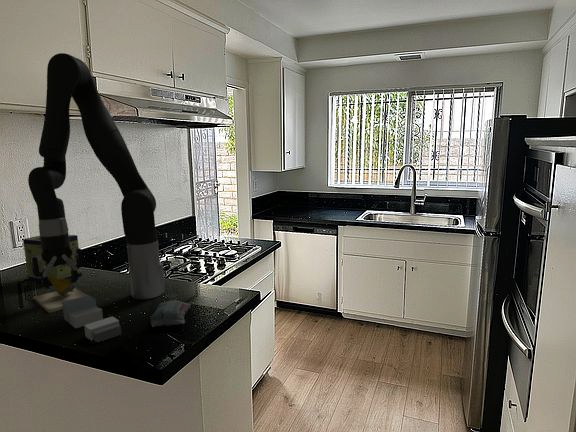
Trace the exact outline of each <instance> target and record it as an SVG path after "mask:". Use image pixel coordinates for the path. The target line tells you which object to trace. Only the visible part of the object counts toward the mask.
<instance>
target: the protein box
mask: <svg viewBox="0 0 576 432" xmlns="http://www.w3.org/2000/svg"><path fill="white" fill-rule="evenodd" d="M22 242H23V249H24V257H25V264H26V272H27V280H28V281H30V280H32V281H31V282H38V281H39V282H40V283H42V280H41V277H36V276H34V275H33V271H32V265H31V259H30V258H31V256H34V257H35V256H40V255H41V254H42V247H41V240H40V235H37V236H32V237H28V238H23V240H22ZM69 242H70V248H71V250H73V249H76V248H80V247H79V246H80V245H79V239H78V234H69ZM69 259H70V260H71V261H72V262H73V263H74V265H76V264H77V263H76V256H75V255H74V254H73V253H72V255H71V256H70V258H69ZM44 264H45V261H44V260H43V259H41V260H40V263H38V267H39V272H41V271H42V269H43V266H44ZM71 270H72V269H71V268H70V267H69V266H68V265H67V264H65V265H58V266H56V267H53V266H52V268H51V270H50V271H49V273H48V274H47V277H50V278H55V279H56V278H58V279H71V280H72V277H71ZM77 272H78V278H79V277H82V276H83V273H82V267H81V268H79V269H78V270H77ZM48 281H49V280H48ZM49 284H52V283H51V282H50V281H49Z"/></svg>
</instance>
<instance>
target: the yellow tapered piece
mask: <svg viewBox="0 0 576 432" xmlns="http://www.w3.org/2000/svg"><path fill="white" fill-rule="evenodd" d="M48 280H49V281H50V282H51V283H50V284H51V285H52V286H53V287H54V288H55V290H56V291H58V294H60V295H62V296H63V295H66V294H67V293H68V292H74V291H73V290H74V288H76V286H75V285H74V282H73V281H72V279H58V278H56V279H55V278H50V277H48Z"/></svg>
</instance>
